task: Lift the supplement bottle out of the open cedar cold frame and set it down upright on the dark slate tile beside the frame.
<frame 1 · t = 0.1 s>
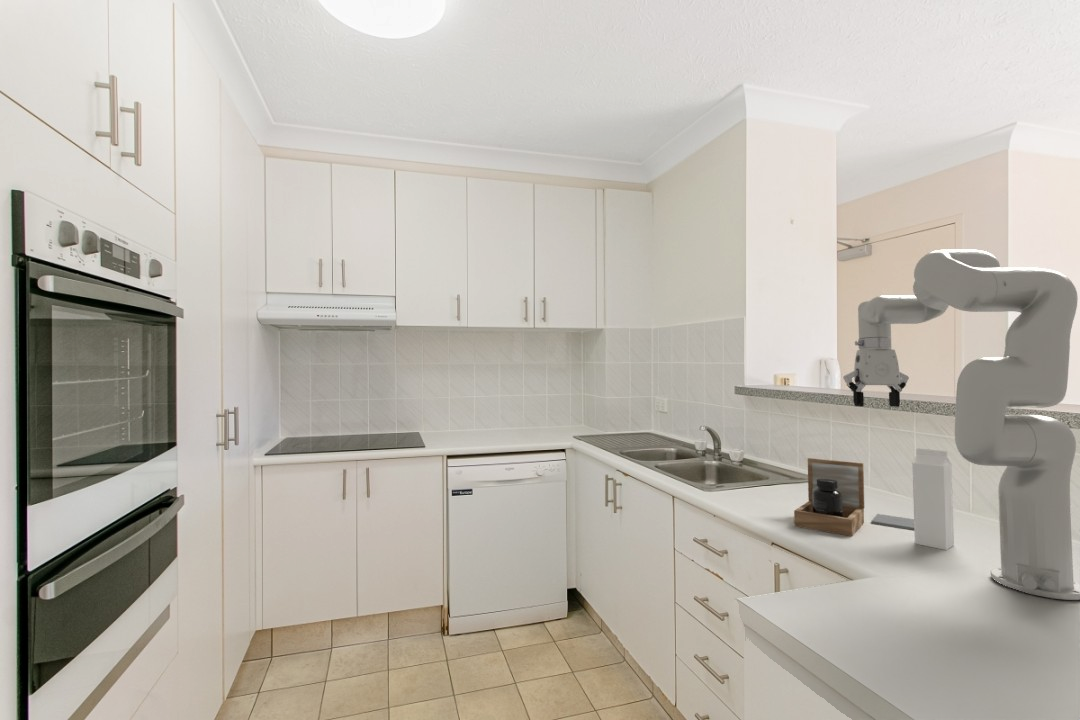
hand: (876, 406, 138), 31 cm above the countertop, tool pointing down, fingers open, 9 cm apart
supplement bottle: (827, 526, 131), resting in cold frame
cold frame: (829, 524, 132), on the countertop
slate tile: (896, 522, 134), on the countertop
milk: (934, 545, 116), on the countertop
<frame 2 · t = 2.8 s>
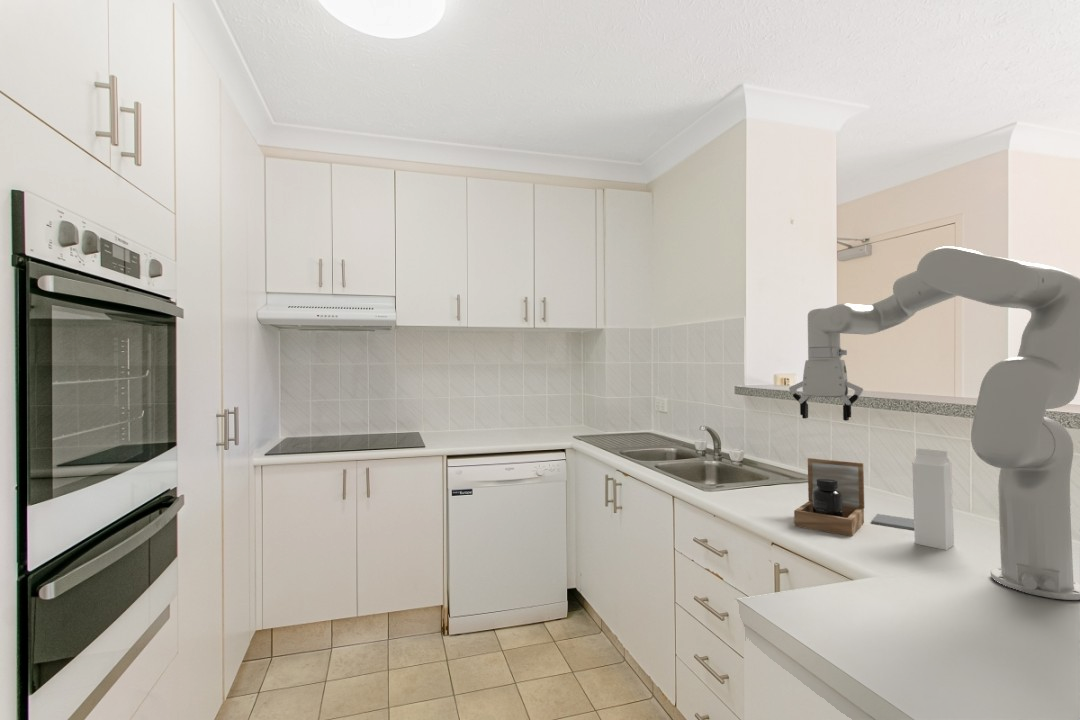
hand: (825, 419, 132), 28 cm above the countertop, tool pointing down, fingers open, 9 cm apart
nothing on the countertop moved.
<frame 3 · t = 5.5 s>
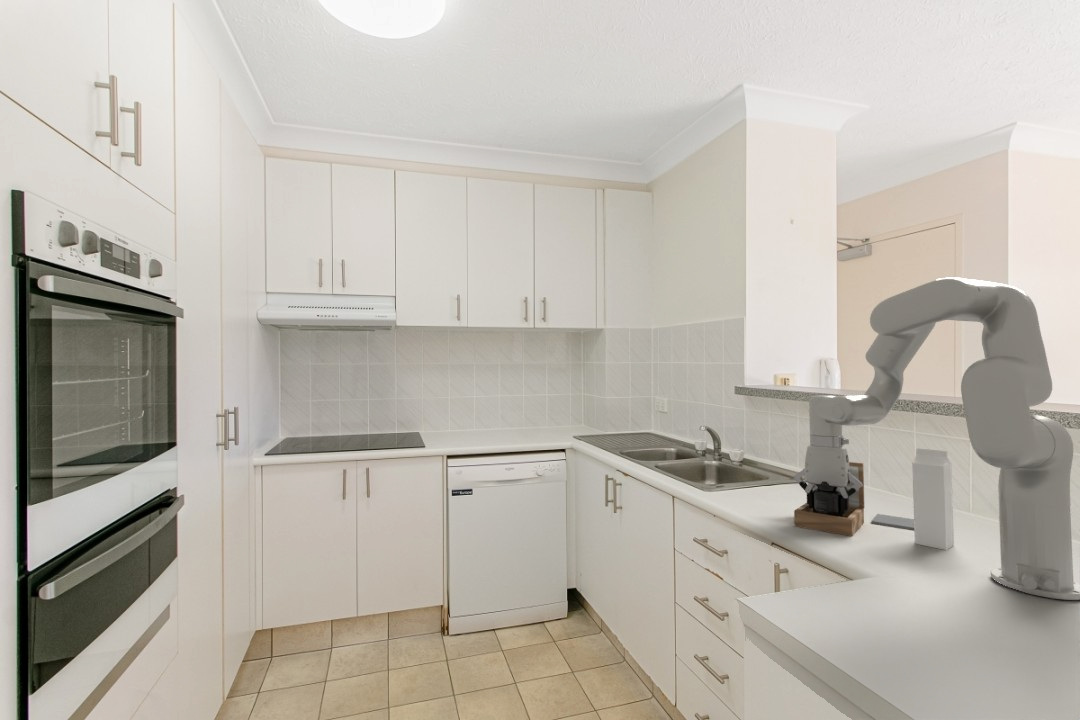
hand: (827, 509, 131), 4 cm above the countertop, tool pointing down, fingers closed on supplement bottle, 6 cm apart
supplement bottle: (827, 526, 131), resting in cold frame, touching gripper
everything else where it was.
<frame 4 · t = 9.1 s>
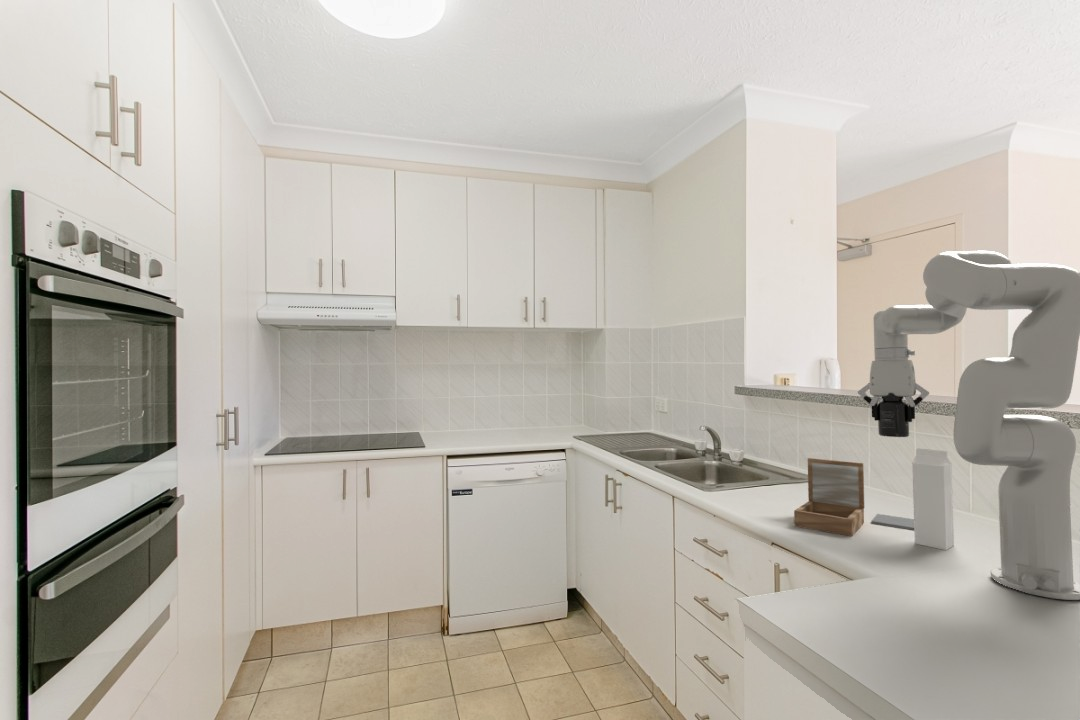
hand: (893, 420, 135), 28 cm above the countertop, tool pointing down, fingers closed on supplement bottle, 6 cm apart
supplement bottle: (893, 437, 135), point 23 cm above the countertop, touching gripper
everything else where it was.
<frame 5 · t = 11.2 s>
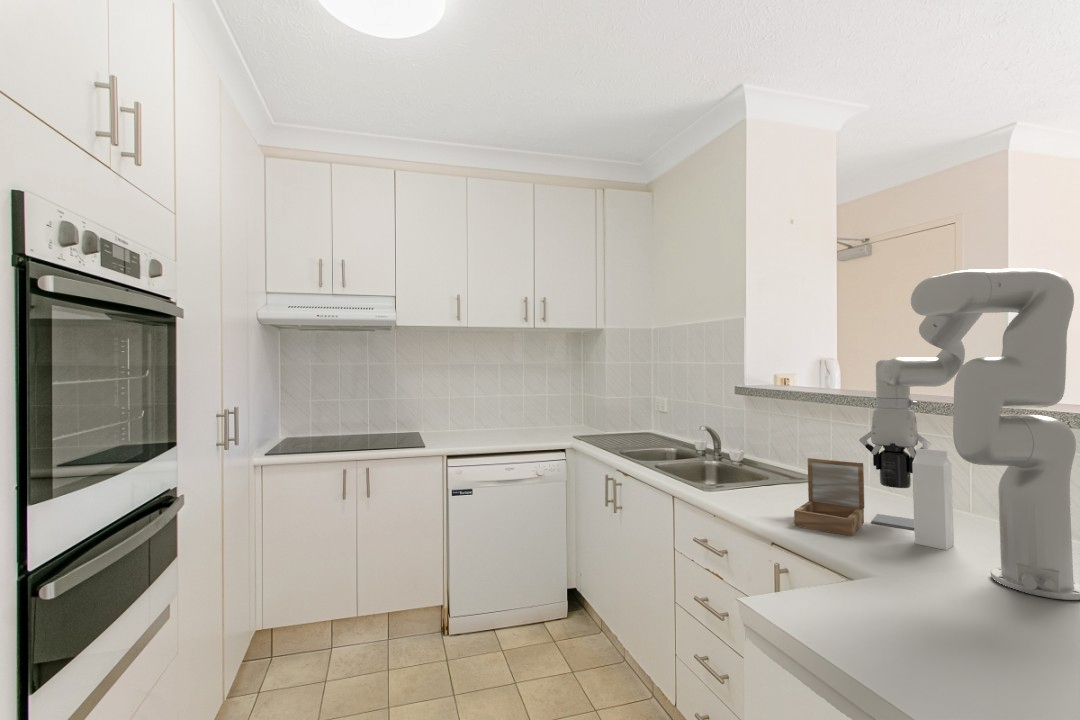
hand: (894, 470, 135), 14 cm above the countertop, tool pointing down, fingers closed on supplement bottle, 6 cm apart
supplement bottle: (895, 486, 135), point 10 cm above the countertop, touching gripper
everything else where it was.
when the fingers open (6 cm above the countertop, at t = 13.1 s): supplement bottle stays where it is, resting on slate tile.
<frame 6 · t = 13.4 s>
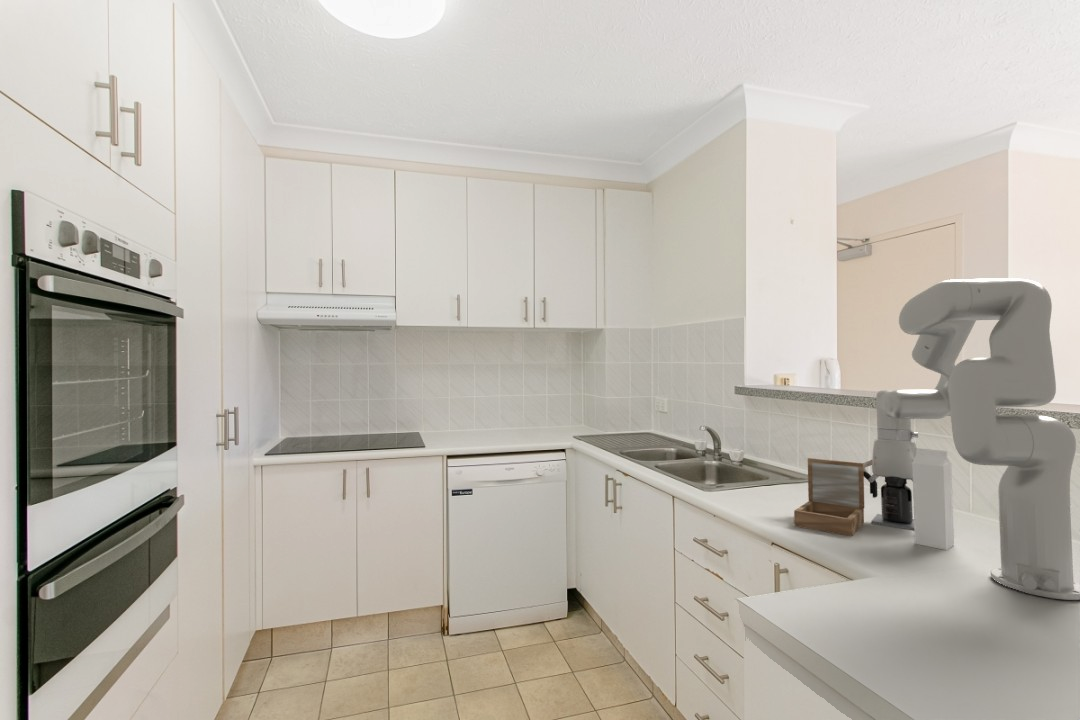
hand: (895, 499, 134), 6 cm above the countertop, tool pointing down, fingers open, 9 cm apart
supplement bottle: (897, 521, 134), resting on slate tile
everything else where it was.
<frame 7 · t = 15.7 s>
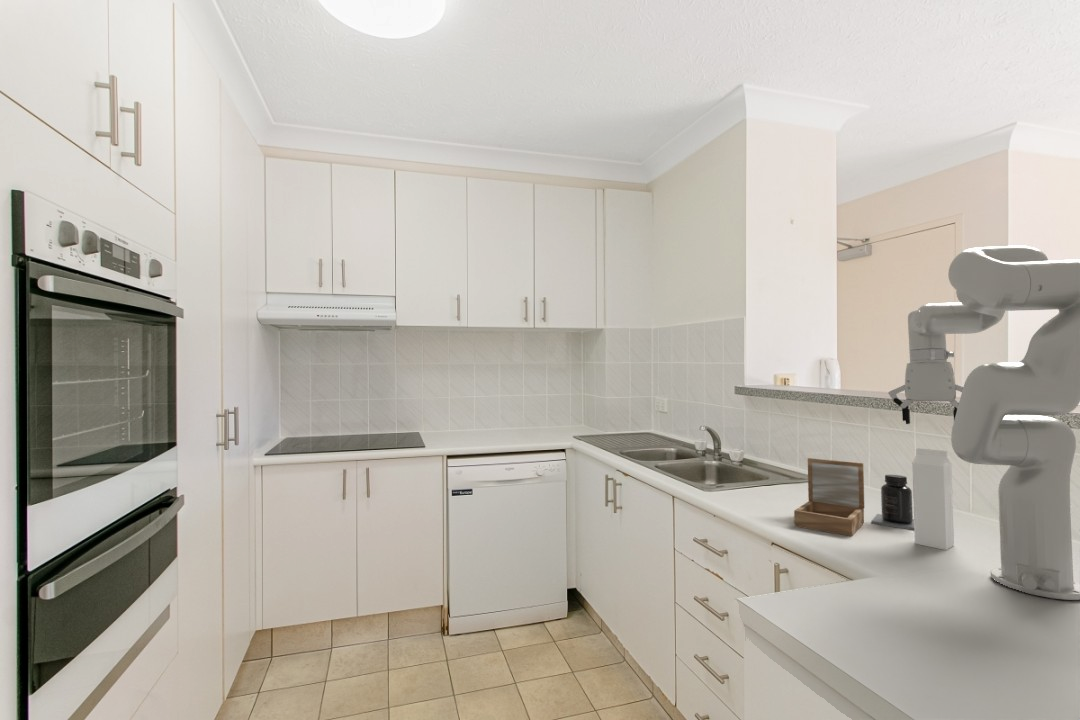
hand: (931, 424, 126), 27 cm above the countertop, tool pointing down, fingers open, 9 cm apart
nothing on the countertop moved.
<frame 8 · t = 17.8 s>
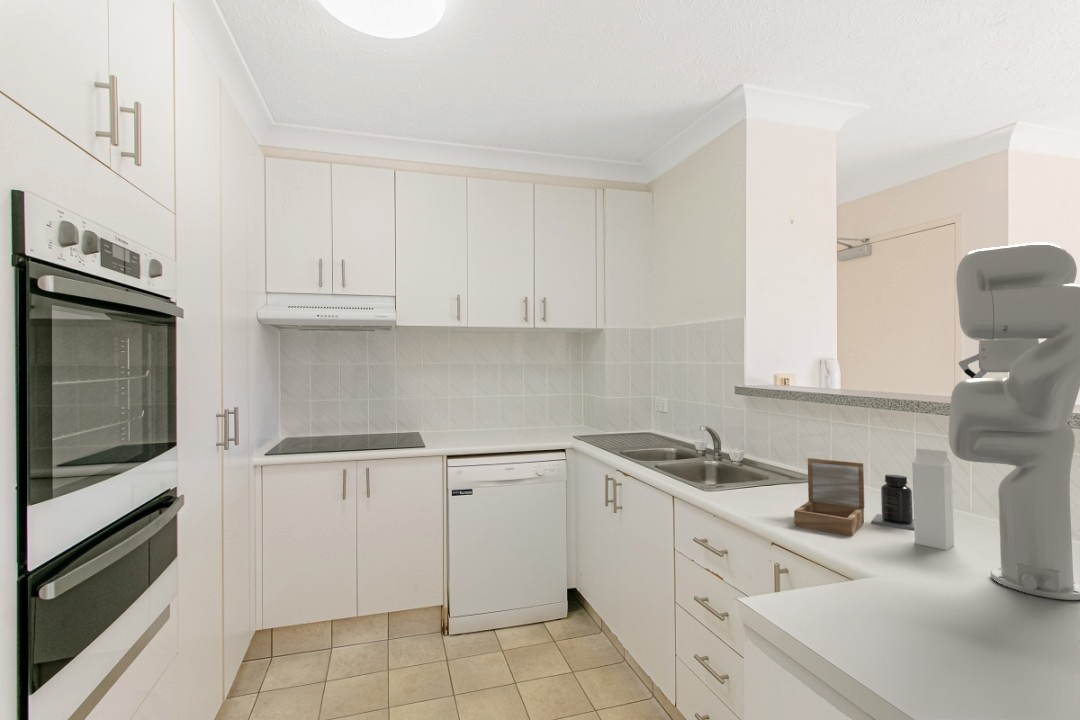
hand: (1010, 398, 111), 34 cm above the countertop, tool pointing down, fingers open, 9 cm apart
nothing on the countertop moved.
at the end: supplement bottle inside the target area on the slate tile (0.1 cm from its centre), point 0.4 cm above the slate tile's base; supplement bottle tilted 0°; the gripper is holding nothing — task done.
